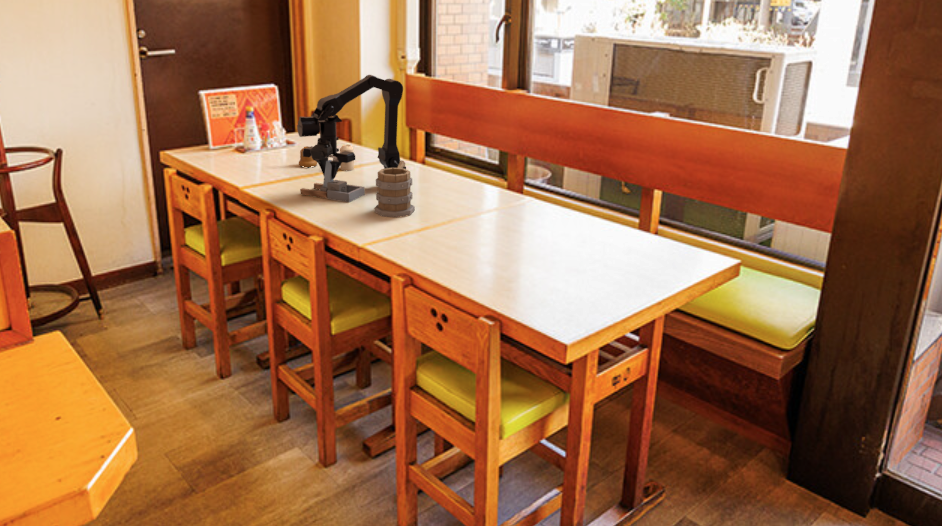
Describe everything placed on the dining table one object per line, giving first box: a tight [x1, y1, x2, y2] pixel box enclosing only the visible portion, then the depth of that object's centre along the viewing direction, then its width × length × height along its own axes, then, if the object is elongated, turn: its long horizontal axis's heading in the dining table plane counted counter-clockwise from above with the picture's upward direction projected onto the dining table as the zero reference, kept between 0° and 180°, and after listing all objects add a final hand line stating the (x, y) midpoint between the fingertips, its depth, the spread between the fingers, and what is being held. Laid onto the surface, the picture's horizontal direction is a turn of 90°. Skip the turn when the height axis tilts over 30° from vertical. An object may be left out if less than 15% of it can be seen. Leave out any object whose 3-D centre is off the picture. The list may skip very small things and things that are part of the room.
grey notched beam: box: [319, 159, 335, 192], centre depth 269 cm, size 2×6×12 cm, turn 157°
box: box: [326, 184, 366, 203], centre depth 269 cm, size 9×10×3 cm
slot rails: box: [300, 182, 327, 199], centre depth 273 cm, size 11×10×2 cm
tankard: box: [373, 160, 416, 218], centre depth 255 cm, size 20×13×15 cm, turn 168°
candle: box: [339, 144, 355, 172], centre depth 305 cm, size 6×6×10 cm
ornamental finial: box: [298, 146, 318, 167], centre depth 309 cm, size 8×8×8 cm
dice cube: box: [327, 179, 348, 193], centre depth 269 cm, size 5×5×5 cm
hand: (329, 178), depth 269 cm, fingers open, 3 cm apart
